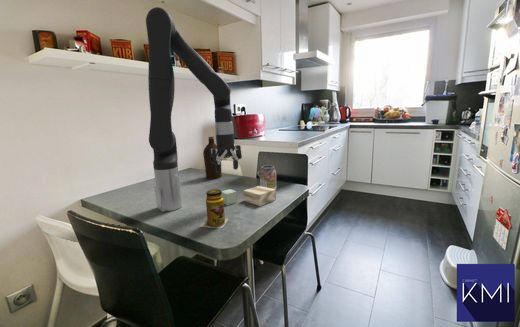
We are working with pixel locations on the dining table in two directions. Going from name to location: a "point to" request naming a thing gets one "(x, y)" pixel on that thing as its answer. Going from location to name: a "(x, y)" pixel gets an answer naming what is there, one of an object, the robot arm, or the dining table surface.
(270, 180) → the patterned jar
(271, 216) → the dining table surface
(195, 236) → the dining table surface
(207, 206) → the condiment
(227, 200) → the green cube
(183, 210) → the dining table surface
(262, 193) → the maple block
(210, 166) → the olive oil
